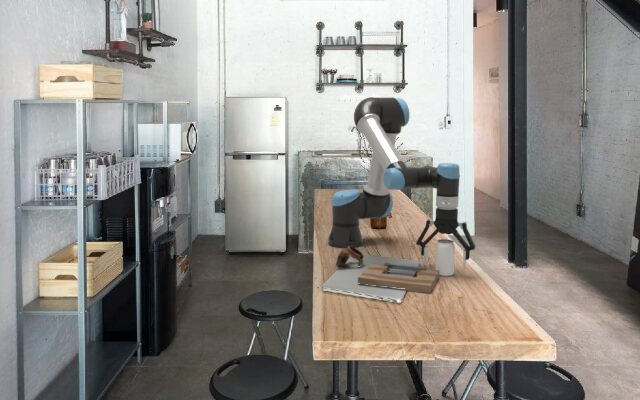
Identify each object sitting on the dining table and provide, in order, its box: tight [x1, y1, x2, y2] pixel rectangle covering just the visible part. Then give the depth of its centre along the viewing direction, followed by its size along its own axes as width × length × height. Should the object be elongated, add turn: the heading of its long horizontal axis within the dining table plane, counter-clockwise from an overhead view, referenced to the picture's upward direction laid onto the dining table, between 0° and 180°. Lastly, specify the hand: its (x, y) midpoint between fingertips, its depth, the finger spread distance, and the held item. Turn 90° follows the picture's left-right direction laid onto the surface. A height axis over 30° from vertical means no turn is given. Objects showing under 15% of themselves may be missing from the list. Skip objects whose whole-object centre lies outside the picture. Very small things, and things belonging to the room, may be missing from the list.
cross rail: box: [383, 262, 427, 273], centre depth 188 cm, size 2×15×3 cm, turn 68°
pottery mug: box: [335, 246, 365, 267], centre depth 197 cm, size 12×10×8 cm
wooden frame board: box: [357, 263, 440, 294], centre depth 180 cm, size 18×24×2 cm
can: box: [434, 238, 456, 277], centre depth 188 cm, size 6×6×12 cm
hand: (444, 266), depth 188 cm, fingers open, 13 cm apart
